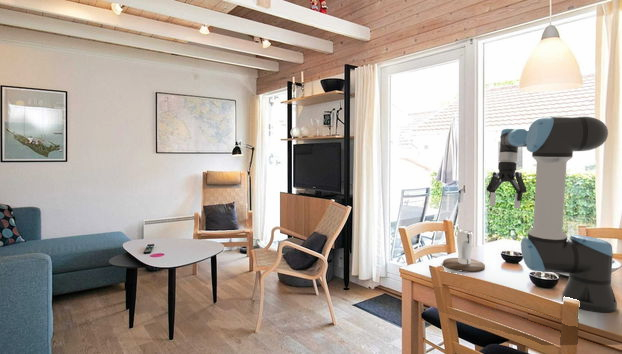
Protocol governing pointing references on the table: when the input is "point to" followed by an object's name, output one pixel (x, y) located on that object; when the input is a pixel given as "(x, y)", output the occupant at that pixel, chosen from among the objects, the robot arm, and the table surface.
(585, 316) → the table surface
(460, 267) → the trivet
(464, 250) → the beer glass
